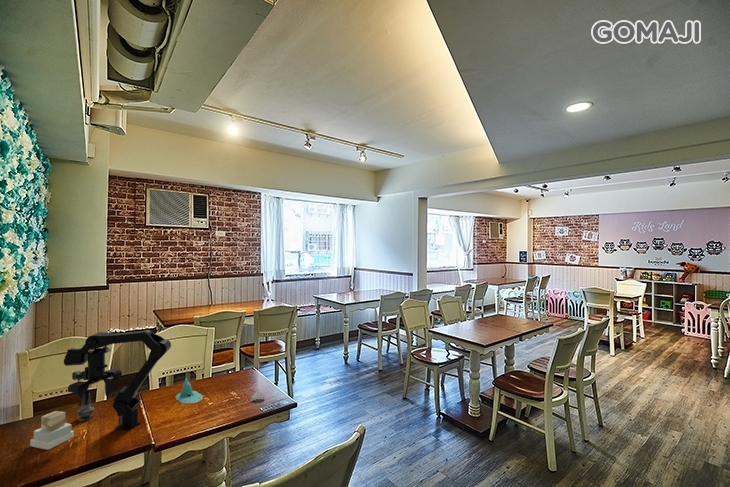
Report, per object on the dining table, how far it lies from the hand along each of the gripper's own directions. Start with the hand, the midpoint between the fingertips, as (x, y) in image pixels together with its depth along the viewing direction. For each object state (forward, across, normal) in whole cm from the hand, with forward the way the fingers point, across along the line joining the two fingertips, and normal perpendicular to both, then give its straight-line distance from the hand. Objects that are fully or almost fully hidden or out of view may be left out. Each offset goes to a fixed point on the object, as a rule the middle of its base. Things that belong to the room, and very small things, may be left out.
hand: (96, 400), depth 142 cm
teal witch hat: (+13, -35, +16) cm, 41 cm away
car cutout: (+14, -40, +48) cm, 63 cm away
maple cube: (+6, +11, -7) cm, 15 cm away
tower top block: (+9, +11, -7) cm, 16 cm away
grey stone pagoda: (+12, -6, -13) cm, 19 cm away
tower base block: (+12, +11, -7) cm, 18 cm away
